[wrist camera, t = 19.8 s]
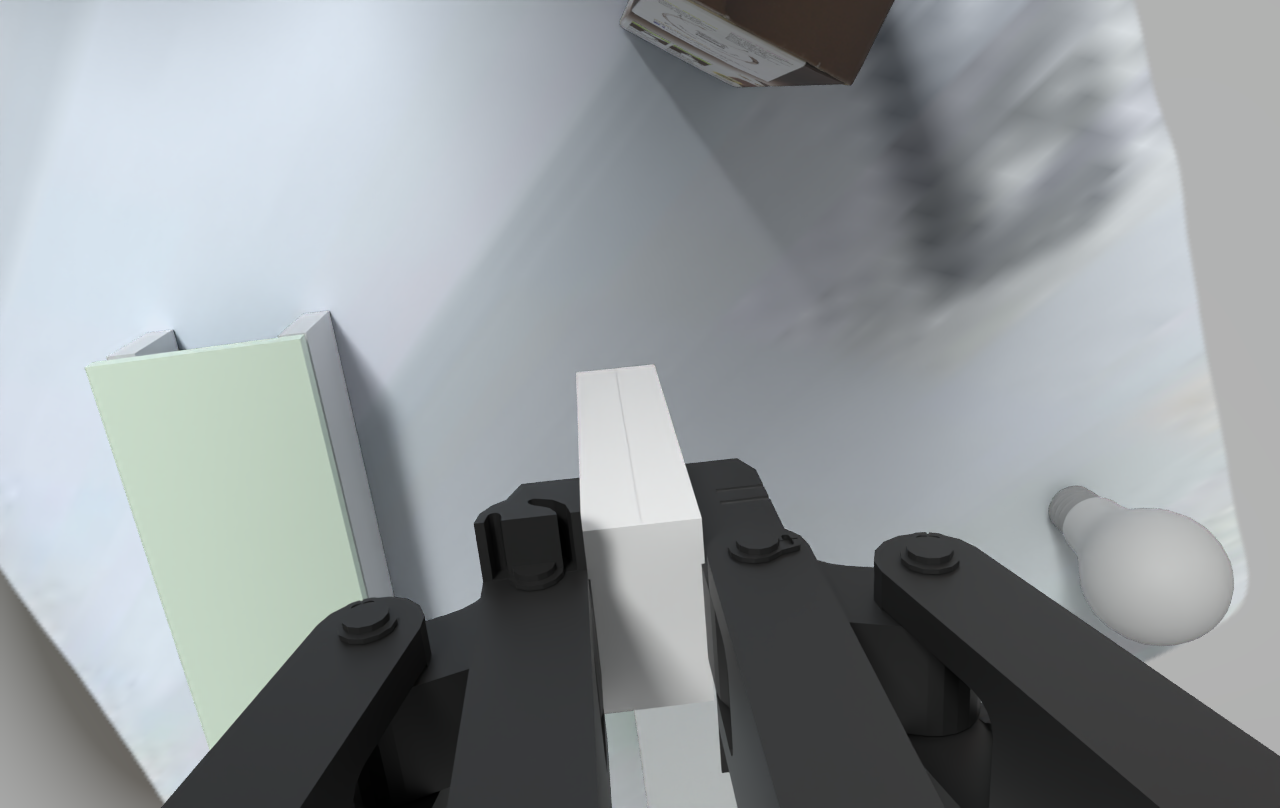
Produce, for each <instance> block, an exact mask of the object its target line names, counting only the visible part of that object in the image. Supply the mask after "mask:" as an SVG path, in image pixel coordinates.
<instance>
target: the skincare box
mask: <svg viewBox="0 0 1280 808" xmlns="http://www.w3.org/2000/svg"><path fill="white" fill-rule="evenodd" d="M713 688H714V701H708V702H700V703H691V704H683V705H675V706H666V707H658V708H650V709H641V710H634V714H635V721H636V728H637V736H638V742H639V750H640V757H641V763H642V771H643V778H644V785H645V792H646V799H647V806H648V808H737V803H736V799H735V795H734V790H733V786H732V782H731V778H730V773H729V772H727V773H722V771H721V756H720V742H719V727H718V712H717V698H716V689H715V684H714V680H713Z"/></svg>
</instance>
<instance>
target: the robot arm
mask: <svg viewBox="0 0 1280 808" xmlns="http://www.w3.org/2000/svg"><path fill="white" fill-rule="evenodd" d="M576 385H577V416H578V447H579V478H573V479H564V480H555V481H545V482H536V483H527V484H521V485H520V486H519V487H518V488H517V489H516V490H515V491H514V492H513V493H512V494H511V496H510V497H509V498H508V499H507V500H505V501H502V502H500V503H497V504H495V505H492V506H491V507H489V508H488V509H486V510H485V511H483V512H482V513H480V514H479V516H478V517H477V519H476V521H475V522H474V528H475V534H476V541H477V547H478V553H479V559H480V565H481V571H482V577H483V587H482V593H481V598H480V599H479V600H477V601H476V602H474V603H473V604H471V605H469V606H467V607H465V608H463V609H461V610H458V611H456V612H453V613H450V614H447V615H444V616H441V617H438V618H434V619H431V620H428V621H425V617H424V614H423V612H422V609H421V607H420V605H418V604H416V603H414V602H413V601H411V600H409V599H405V598H398V597H380V598H376V597H372V598H367V599H363V601H360V600H359V601H356V602H353V603H350V604H348V605H347V606H345V607H343V608H341V609H339V610H337V611H335V612H333V613H331V614H330V615H328V616H327V617H326V618H325V619H324V620H323V621H321V622H320V623H319V624H318V625H317V626H316V627H315V628H314V629H313V630H312V631H311V633H310V634H309V635H308V636H307V637H306V639H305V640H304V641H303V642H302V643H301V644H300V646H299V647H298V648H297V649H296V650H295V651H294V653H293V654H292V655H291V656H290V657H289V658H288V660H287V661H286V662H285V663H284V664H283V665H282V667H281V668H280V669H279V670H278V671H277V672H276V674H275V675H274V676H273V677H272V678H271V680H270V681H269V682H268V683H267V684H266V685H265V687H264V688H263V689H262V690H261V691H260V692H259V694H258V695H257V696H256V697H255V698H254V699H253V701H252V702H251V703H250V704H249V705H248V706H247V708H246V709H245V710H244V711H243V712H242V713H241V715H240V716H239V717H238V718H237V719H236V721H235V722H234V723H233V724H232V725H231V726H230V728H229V729H228V730H227V731H226V732H225V733H224V735H223V736H222V737H221V738H220V739H219V740H218V742H217V743H216V744H215V745H214V746H213V747H212V749H211V750H210V751H209V752H208V753H207V754H206V756H205V757H204V758H203V759H202V760H201V762H200V763H199V764H198V765H197V766H196V767H195V769H194V770H193V771H192V772H191V773H190V774H189V776H188V777H187V778H186V779H185V780H184V781H183V783H182V784H181V785H180V786H179V787H178V788H177V790H176V791H175V792H174V793H173V794H172V795H171V797H170V798H169V799H168V800H167V801H166V803H165V804H164V805H163V806H162V807H161V808H612V803H611V788H610V773H609V758H608V742H607V733H606V724H605V716H604V714H608V713H616V712H625V711H633V710H641V709H650V708H658V707H666V706H675V705H683V704H691V703H700V702H708V701H714V688H713V680H714V684H715V689H716V698H717V712H718V727H719V742H720V756H721V771H722V773H727V772H729V773H730V778H731V782H732V786H733V790H734V795H735V799H736V803H737V808H1280V756H1279V755H1277V754H1276V753H1274V752H1273V751H1272V750H1270V749H1268V748H1267V747H1266V746H1264V745H1263V744H1261V743H1260V742H1258V741H1257V740H1256V739H1254V738H1253V737H1251V736H1250V735H1248V734H1247V733H1245V732H1244V731H1243V730H1241V729H1240V728H1238V727H1237V726H1235V725H1234V724H1232V723H1231V722H1229V721H1228V720H1227V719H1225V718H1224V717H1222V716H1221V715H1219V714H1218V713H1216V712H1215V711H1213V710H1212V709H1211V708H1209V707H1207V706H1206V705H1204V704H1203V703H1202V702H1200V701H1199V700H1197V699H1196V698H1195V697H1193V696H1192V695H1190V694H1189V693H1187V692H1186V691H1184V690H1183V689H1181V688H1180V687H1178V686H1177V685H1176V684H1174V683H1173V682H1171V681H1170V680H1168V679H1167V678H1165V677H1164V676H1163V675H1161V674H1160V673H1158V672H1157V671H1155V670H1154V669H1152V668H1151V667H1149V666H1148V665H1147V664H1145V663H1144V662H1142V661H1141V660H1139V659H1138V658H1136V657H1135V656H1133V655H1132V654H1131V653H1129V652H1128V651H1126V650H1125V649H1123V648H1122V647H1120V646H1119V645H1117V644H1116V643H1115V642H1113V641H1112V640H1110V639H1109V638H1107V637H1106V636H1104V635H1103V634H1101V633H1100V632H1099V631H1097V630H1096V629H1094V628H1093V627H1091V626H1090V625H1088V624H1087V623H1085V622H1084V621H1083V620H1081V619H1080V618H1078V617H1077V616H1075V615H1074V614H1072V613H1071V612H1069V611H1068V610H1067V609H1065V608H1064V607H1062V606H1061V605H1059V604H1058V603H1056V602H1055V601H1053V600H1052V599H1051V598H1049V597H1048V596H1046V595H1045V594H1043V593H1042V592H1040V591H1039V590H1037V589H1036V588H1034V587H1033V586H1032V585H1030V584H1029V583H1027V582H1026V581H1024V580H1023V579H1021V578H1020V577H1018V576H1017V575H1016V574H1014V573H1013V572H1011V571H1010V570H1008V569H1007V568H1005V567H1004V566H1002V565H1001V564H1000V563H998V562H997V561H995V560H994V559H992V558H991V557H989V556H988V555H986V554H985V553H984V552H982V551H981V550H979V549H978V548H976V547H975V546H972V545H970V544H968V543H966V542H964V541H962V540H960V539H957V538H952V537H948V536H944V535H942V534H939V533H929V534H926V532H921V533H914V534H909V535H902V536H897V537H895V538H892V539H890V540H887V541H885V542H883V543H882V544H881V545H880V546H879V547H878V548H877V549H876V550H875V556H874V568H872V567H856V566H844V565H836V564H830V563H826V562H822V561H818V560H817V559H816V557H815V556H814V554H813V552H812V550H811V548H810V546H809V544H808V543H807V542H806V541H805V540H804V539H803V538H802V537H801V536H800V535H798V534H795V533H793V532H791V531H789V530H786V529H784V527H783V525H782V523H781V521H780V519H779V517H778V515H777V512H776V510H775V508H774V506H773V504H772V502H771V500H770V499H769V497H768V494H767V492H766V490H765V488H764V487H763V484H762V482H761V480H760V478H759V475H758V473H757V471H756V470H755V469H754V468H752V467H751V466H749V465H747V464H746V463H744V462H742V461H741V460H739V459H737V458H735V459H726V460H717V461H708V462H698V463H689V464H685V462H684V459H683V456H682V453H681V449H680V446H679V443H678V440H677V437H676V433H675V430H674V427H673V424H672V420H671V417H670V414H669V411H668V407H667V404H666V401H665V398H664V394H663V391H662V388H661V385H660V382H659V378H658V375H657V372H656V369H655V365H654V364H652V365H642V366H632V367H623V368H613V369H604V370H594V371H584V372H576ZM981 702H982V703H983V704H982V703H981Z"/></svg>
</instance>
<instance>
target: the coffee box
mask: <svg viewBox="0 0 1280 808" xmlns="http://www.w3.org/2000/svg"><path fill="white" fill-rule="evenodd" d="M893 2H894V0H629V1H628V4H627V6H626V8H625V10H624V12H623V15H622V17H621V19H620V21H619V24H620V26H621V27H622V28H624V29H626V30H627V31H629V32H631V33H633V34H635V35H637V36H638V37H640V38H642V39H644V40H646V41H648V42H649V43H651V44H653V45H655V46H657V47H659V48H661V49H662V50H664V51H666V52H668V53H670V54H672V55H674V56H676V57H677V58H679V59H681V60H683V61H685V62H687V63H689V64H690V65H692V66H694V67H696V68H698V69H700V70H702V71H704V72H706V73H707V74H709V75H711V76H713V77H715V78H717V79H719V80H721V81H723V82H726V83H728V84H730V85H732V86H735V87H766V86H799V85H832V84H844V85H852V84H853V82H854V80H855V78H856V76H857V74H858V72H859V71H860V69H861V67H862V65H863V63H864V61H865V59H866V57H867V55H868V53H869V51H870V49H871V47H872V45H873V43H874V40H875V38H876V36H877V34H878V32H879V30H880V28H881V26H882V24H883V22H884V20H885V18H886V16H887V14H888V12H889V10H890V8H891V6H892V4H893Z"/></svg>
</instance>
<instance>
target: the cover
mask: <svg viewBox="0 0 1280 808" xmlns="http://www.w3.org/2000/svg"><path fill="white" fill-rule="evenodd" d="M85 370H86V373H87V376H88V379H89V382H90V385H91V389H92V392H93V395H94V398H95V401H96V404H97V407H98V410H99V413H100V416H101V419H102V422H103V425H104V428H105V431H106V434H107V437H108V441H109V444H110V447H111V450H112V453H113V456H114V459H115V462H116V465H117V468H118V471H119V474H120V477H121V480H122V483H123V486H124V489H125V493H126V496H127V499H128V502H129V505H130V508H131V511H132V514H133V517H134V520H135V523H136V526H137V529H138V532H139V535H140V538H141V541H142V545H143V548H144V551H145V554H146V557H147V560H148V563H149V566H150V569H151V572H152V575H153V578H154V581H155V584H156V587H157V590H158V593H159V597H160V600H161V603H162V606H163V609H164V612H165V615H166V618H167V621H168V624H169V627H170V630H171V633H172V636H173V639H174V642H175V645H176V649H177V652H178V655H179V658H180V661H181V664H182V667H183V670H184V673H185V676H186V679H187V682H188V685H189V688H190V691H191V694H192V697H193V701H194V704H195V707H196V710H197V713H198V716H199V719H200V722H201V725H202V728H203V731H204V734H205V737H206V740H207V743H208V746H209V750H211V749H212V747H213V746H214V745H215V744H216V743H217V742H218V740H219V739H220V738H221V737H222V736H223V735H224V733H225V732H226V731H227V730H228V729H229V728H230V726H231V725H232V724H233V723H234V722H235V721H236V719H237V718H238V717H239V716H240V715H241V713H242V712H243V711H244V710H245V709H246V708H247V706H248V705H249V704H250V703H251V702H252V701H253V699H254V698H255V697H256V696H257V695H258V694H259V692H260V691H261V690H262V689H263V688H264V687H265V685H266V684H267V683H268V682H269V681H270V680H271V678H272V677H273V676H274V675H275V674H276V672H277V671H278V670H279V669H280V668H281V667H282V665H283V664H284V663H285V662H286V661H287V660H288V658H289V657H290V656H291V655H292V654H293V653H294V651H295V650H296V649H297V648H298V647H299V646H300V644H301V643H302V642H303V641H304V640H305V639H306V637H307V636H308V635H309V634H310V633H311V631H312V630H313V629H314V628H315V627H316V626H317V625H318V624H319V623H320V622H321V621H323V620H324V619H325V618H326V617H327V616H328V615H330V614H331V613H333V612H335V611H337V610H339V609H341V608H343V607H345V606H347V605H348V604H350V603H353V602H356V601H359V600H360V601H363V599H367V595H366V590H365V586H364V582H363V578H362V574H361V569H360V565H359V561H358V557H357V553H356V549H355V544H354V540H353V536H352V532H351V528H350V523H349V519H348V515H347V511H346V507H345V503H344V498H343V494H342V490H341V486H340V482H339V477H338V473H337V469H336V465H335V461H334V457H333V452H332V448H331V444H330V440H329V436H328V431H327V427H326V423H325V419H324V415H323V411H322V406H321V402H320V398H319V394H318V390H317V386H316V381H315V377H314V373H313V369H312V365H311V360H310V356H309V352H308V348H307V344H306V340H305V335H304V334H302V335H294V336H287V337H279V338H271V339H264V340H256V341H249V342H241V343H234V344H226V345H219V346H211V347H204V348H196V349H189V350H181V351H174V352H166V353H158V354H151V355H143V356H136V357H128V358H121V359H113V360H106V361H98V362H93V363H91V364H90V365H88V366H86V367H85Z"/></svg>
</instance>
